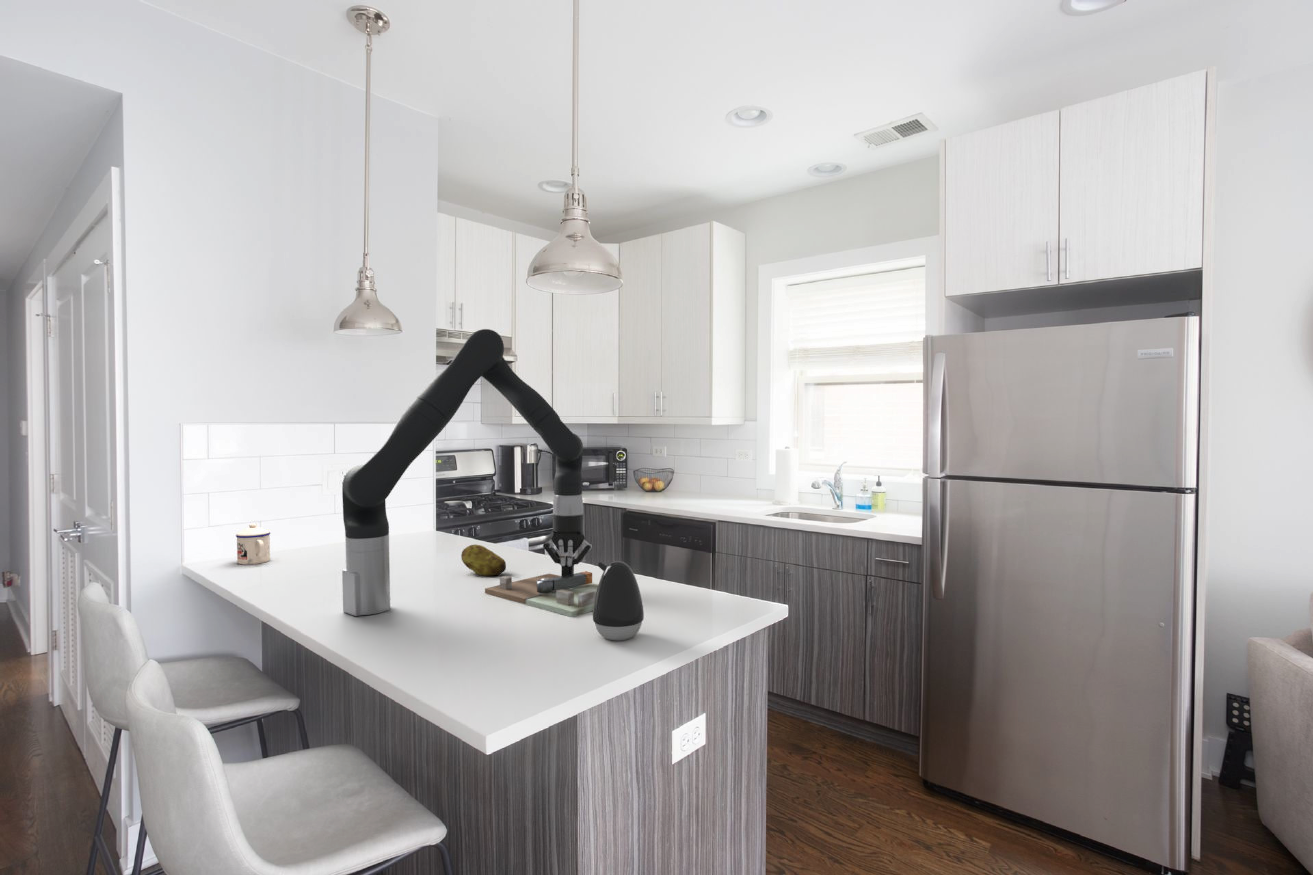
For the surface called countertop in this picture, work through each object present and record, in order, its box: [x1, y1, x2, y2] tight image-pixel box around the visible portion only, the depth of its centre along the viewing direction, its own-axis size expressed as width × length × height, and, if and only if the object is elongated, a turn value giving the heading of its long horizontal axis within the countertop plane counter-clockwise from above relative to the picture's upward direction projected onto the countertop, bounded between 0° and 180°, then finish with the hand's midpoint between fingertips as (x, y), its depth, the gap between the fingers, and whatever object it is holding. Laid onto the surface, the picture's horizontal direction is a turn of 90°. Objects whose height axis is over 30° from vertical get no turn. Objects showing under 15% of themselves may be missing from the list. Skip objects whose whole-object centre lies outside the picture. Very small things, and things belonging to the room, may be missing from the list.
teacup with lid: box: [235, 523, 271, 566], centre depth 210 cm, size 12×9×12 cm
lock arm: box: [537, 570, 593, 593], centre depth 170 cm, size 4×15×3 cm, turn 131°
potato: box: [460, 544, 507, 577], centre depth 193 cm, size 8×13×8 cm, turn 52°
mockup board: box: [484, 572, 599, 618], centre depth 170 cm, size 21×32×4 cm, turn 49°
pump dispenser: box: [592, 560, 645, 642], centre depth 138 cm, size 10×10×15 cm
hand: (567, 580), depth 175 cm, fingers closed
